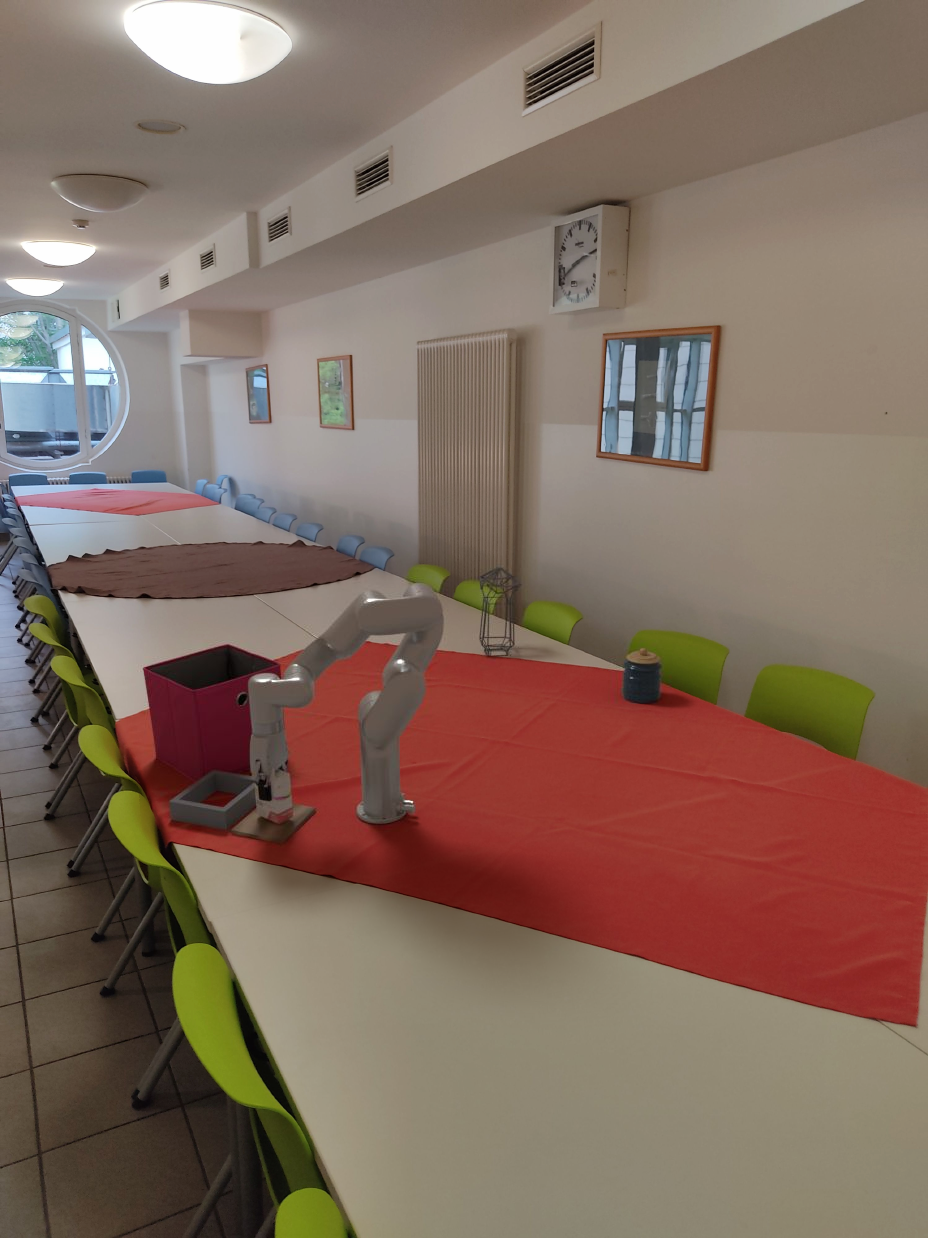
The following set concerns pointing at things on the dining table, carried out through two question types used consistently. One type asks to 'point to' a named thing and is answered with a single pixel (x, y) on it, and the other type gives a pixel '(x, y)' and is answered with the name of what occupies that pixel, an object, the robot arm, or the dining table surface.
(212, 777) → the gray rectangular frame
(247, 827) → the walnut mat
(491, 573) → the geometric lantern
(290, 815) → the ink cartridge box
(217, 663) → the storage bin
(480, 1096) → the dining table surface
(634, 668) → the canister
